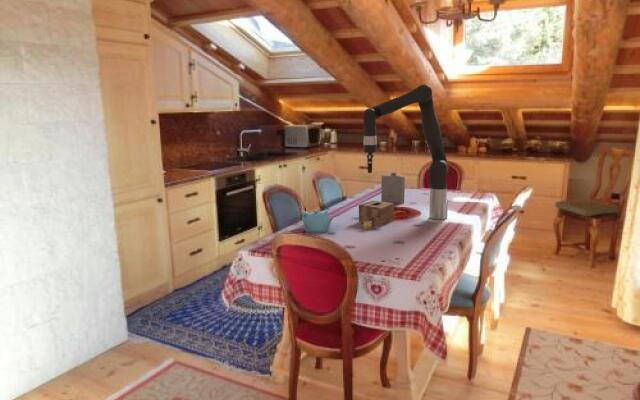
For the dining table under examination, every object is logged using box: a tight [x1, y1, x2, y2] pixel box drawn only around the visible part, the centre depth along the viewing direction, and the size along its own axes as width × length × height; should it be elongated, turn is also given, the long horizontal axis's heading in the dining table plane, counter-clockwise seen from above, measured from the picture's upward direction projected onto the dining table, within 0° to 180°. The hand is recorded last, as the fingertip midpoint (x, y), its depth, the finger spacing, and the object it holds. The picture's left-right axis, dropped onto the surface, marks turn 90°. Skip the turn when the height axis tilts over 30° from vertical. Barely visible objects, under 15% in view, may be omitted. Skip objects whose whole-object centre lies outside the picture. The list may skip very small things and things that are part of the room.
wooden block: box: [362, 220, 373, 231], centre depth 253 cm, size 2×5×4 cm, turn 141°
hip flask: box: [380, 171, 406, 205], centre depth 314 cm, size 16×4×20 cm, turn 60°
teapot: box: [301, 209, 333, 234], centre depth 252 cm, size 15×15×11 cm
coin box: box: [358, 199, 395, 227], centre depth 267 cm, size 14×14×10 cm
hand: (370, 171), depth 278 cm, fingers open, 8 cm apart
